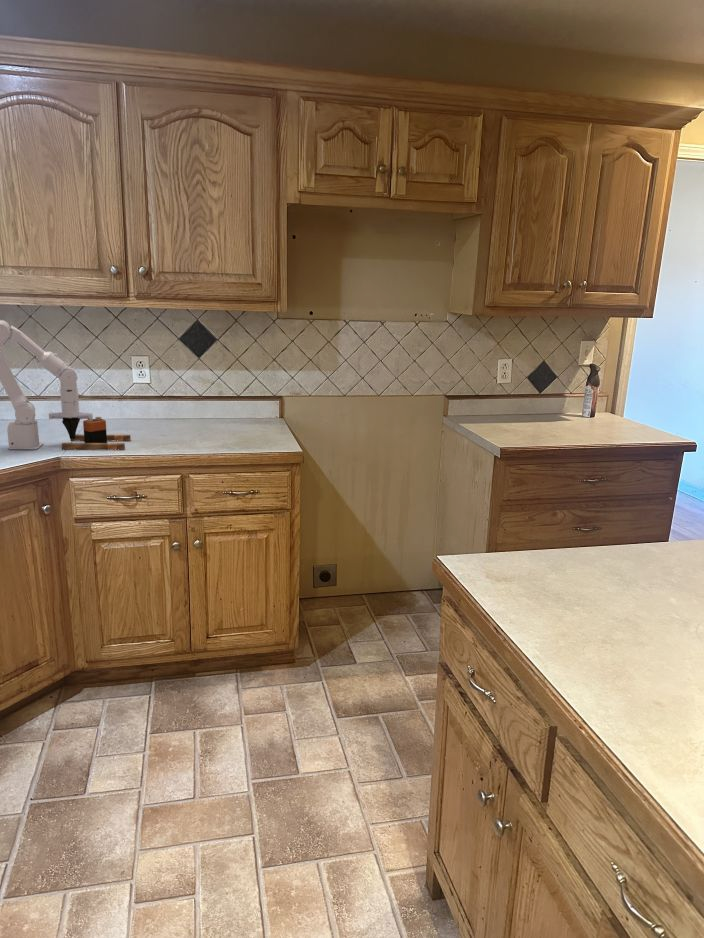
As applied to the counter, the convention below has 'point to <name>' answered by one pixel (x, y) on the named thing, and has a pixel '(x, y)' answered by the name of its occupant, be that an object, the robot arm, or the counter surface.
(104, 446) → the guide channel
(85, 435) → the battery
